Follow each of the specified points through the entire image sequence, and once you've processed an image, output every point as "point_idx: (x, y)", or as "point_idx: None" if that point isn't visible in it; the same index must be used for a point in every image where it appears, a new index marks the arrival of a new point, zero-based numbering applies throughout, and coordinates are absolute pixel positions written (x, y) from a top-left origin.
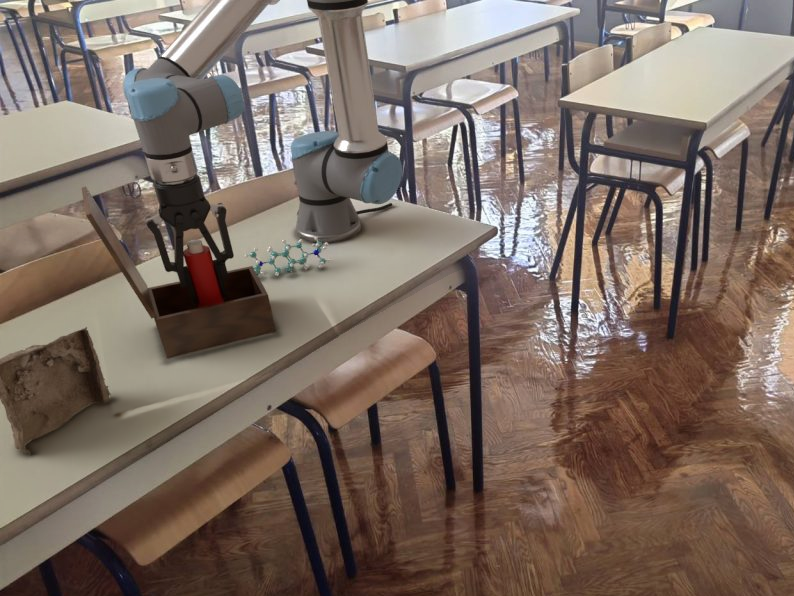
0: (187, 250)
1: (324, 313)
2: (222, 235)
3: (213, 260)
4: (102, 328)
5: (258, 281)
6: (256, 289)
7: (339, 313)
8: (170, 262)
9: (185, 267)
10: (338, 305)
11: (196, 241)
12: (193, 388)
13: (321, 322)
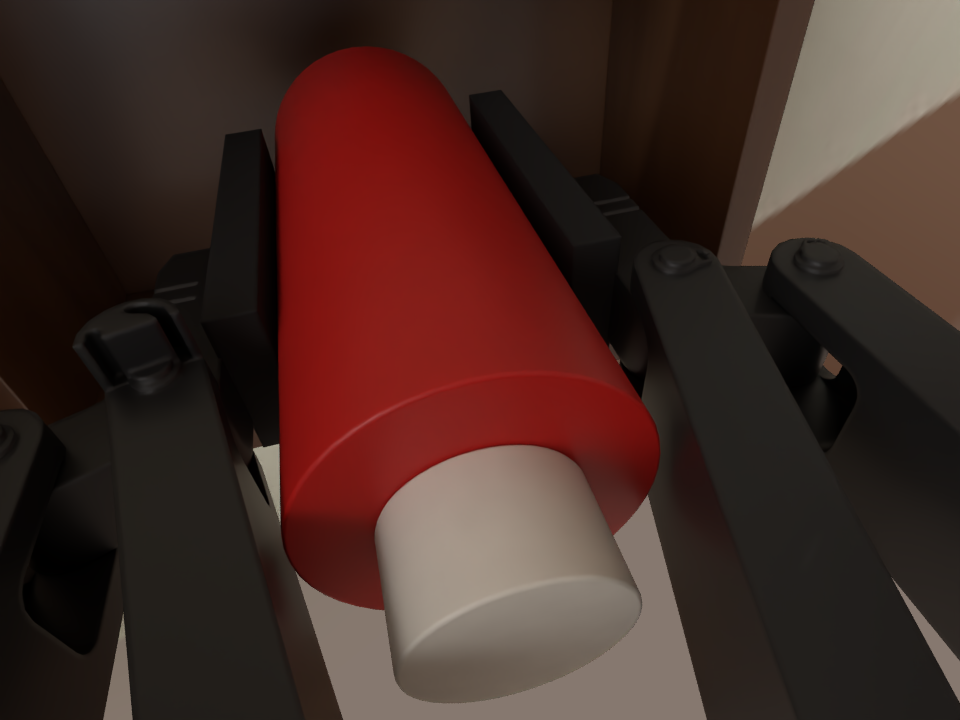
0: (350, 502)
1: (854, 70)
2: (946, 629)
3: (586, 252)
4: None
5: (757, 159)
6: (702, 58)
7: (896, 95)
8: (71, 502)
9: (248, 341)
10: (947, 8)
11: (566, 624)
12: (276, 458)
13: (797, 152)
